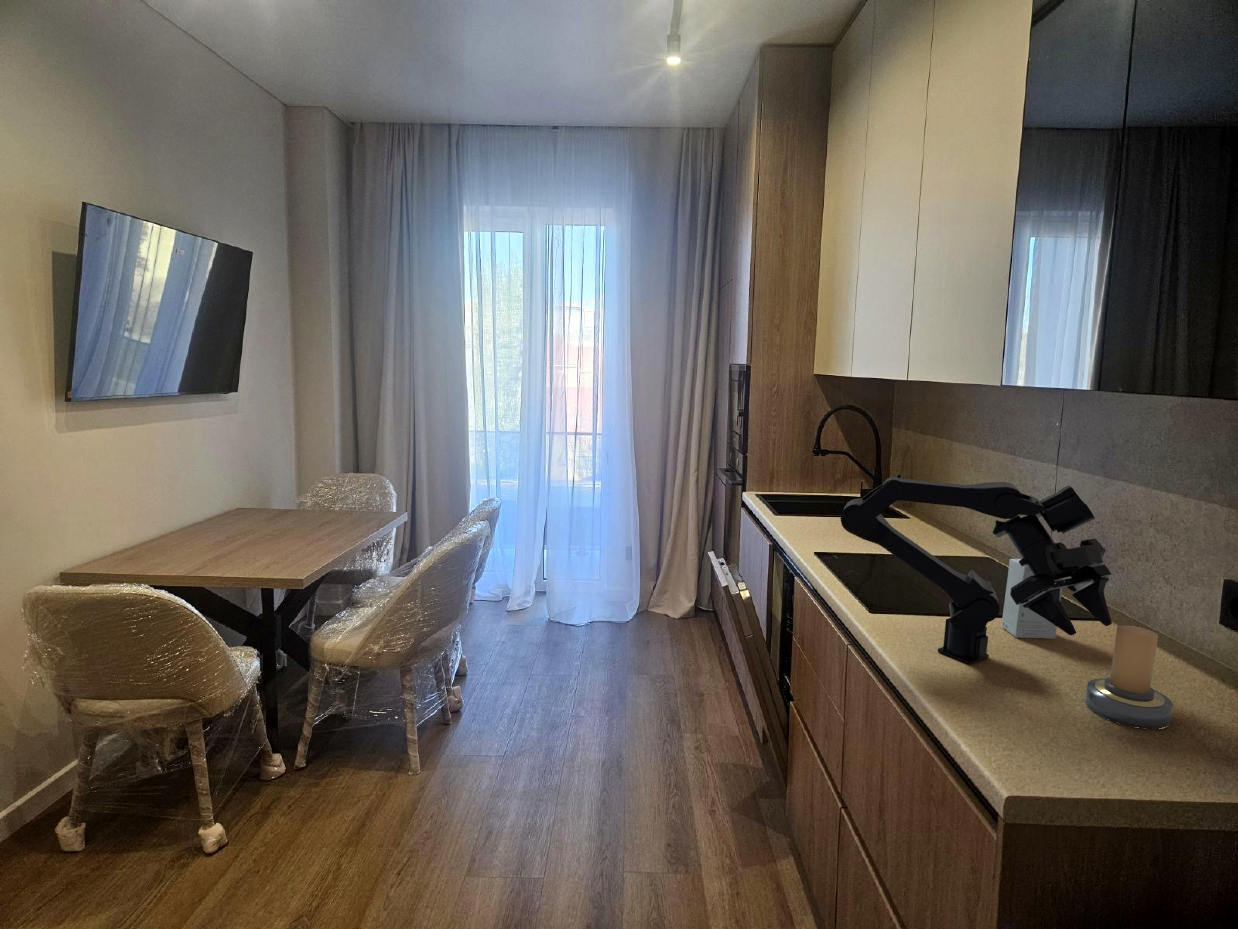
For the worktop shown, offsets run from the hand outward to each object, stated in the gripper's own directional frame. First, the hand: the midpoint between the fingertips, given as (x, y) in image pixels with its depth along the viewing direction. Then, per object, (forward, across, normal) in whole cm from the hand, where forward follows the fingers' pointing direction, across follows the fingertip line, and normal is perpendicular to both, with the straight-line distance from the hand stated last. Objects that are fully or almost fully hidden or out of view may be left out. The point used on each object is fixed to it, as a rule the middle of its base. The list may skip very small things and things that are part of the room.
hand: (1091, 629), depth 117 cm
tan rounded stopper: (+10, 0, +1) cm, 10 cm away
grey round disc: (+13, 0, +3) cm, 13 cm away
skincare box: (-6, +16, +24) cm, 29 cm away
